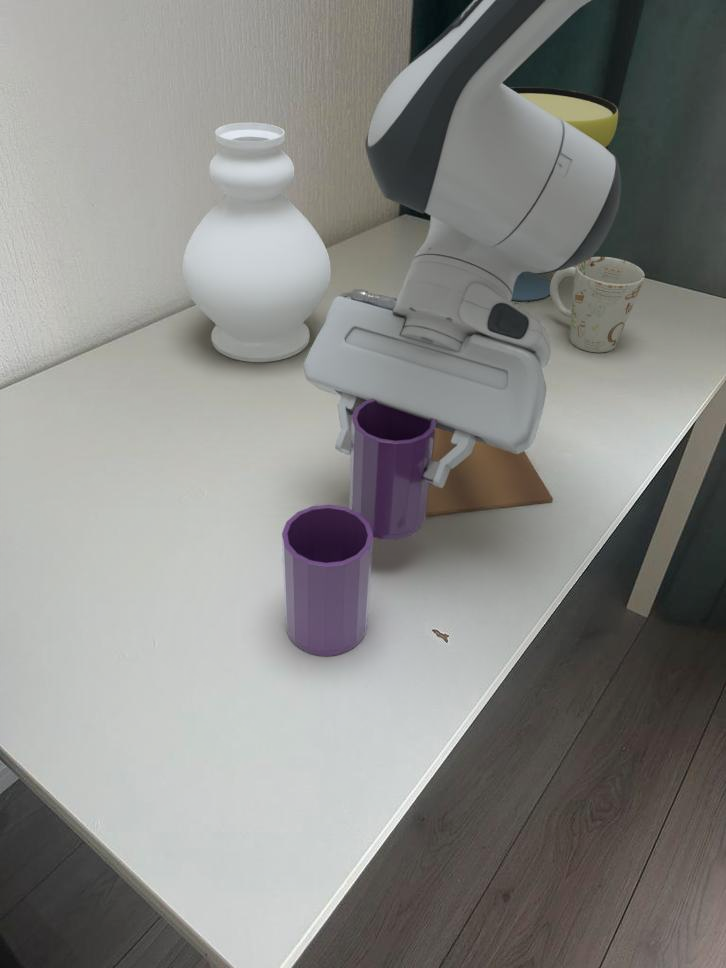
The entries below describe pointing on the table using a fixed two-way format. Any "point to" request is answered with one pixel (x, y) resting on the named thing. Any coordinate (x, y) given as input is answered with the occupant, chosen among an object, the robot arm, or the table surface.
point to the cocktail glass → (586, 117)
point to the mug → (599, 300)
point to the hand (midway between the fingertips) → (388, 468)
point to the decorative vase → (255, 251)
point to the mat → (484, 480)
